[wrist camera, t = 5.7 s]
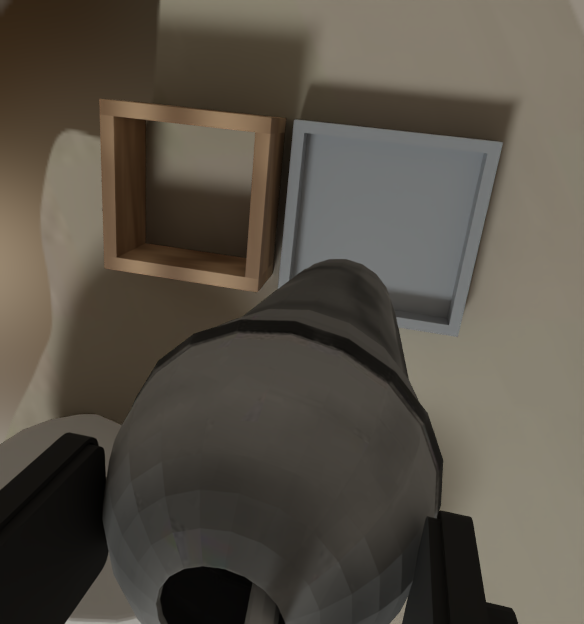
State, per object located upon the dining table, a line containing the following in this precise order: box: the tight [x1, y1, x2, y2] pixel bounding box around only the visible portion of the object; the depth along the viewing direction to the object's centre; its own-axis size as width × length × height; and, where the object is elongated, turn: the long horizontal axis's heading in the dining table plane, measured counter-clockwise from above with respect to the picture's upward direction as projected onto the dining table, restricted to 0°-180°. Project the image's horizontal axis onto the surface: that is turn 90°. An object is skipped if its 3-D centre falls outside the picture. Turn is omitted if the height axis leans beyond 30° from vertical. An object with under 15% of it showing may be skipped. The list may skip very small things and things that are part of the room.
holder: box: [99, 99, 286, 292], centre depth 39 cm, size 12×12×5 cm
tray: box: [278, 119, 503, 337], centre depth 39 cm, size 14×14×2 cm
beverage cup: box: [102, 259, 443, 624], centre depth 13 cm, size 7×7×20 cm
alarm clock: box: [0, 414, 141, 624], centre depth 43 cm, size 21×8×20 cm, turn 70°
